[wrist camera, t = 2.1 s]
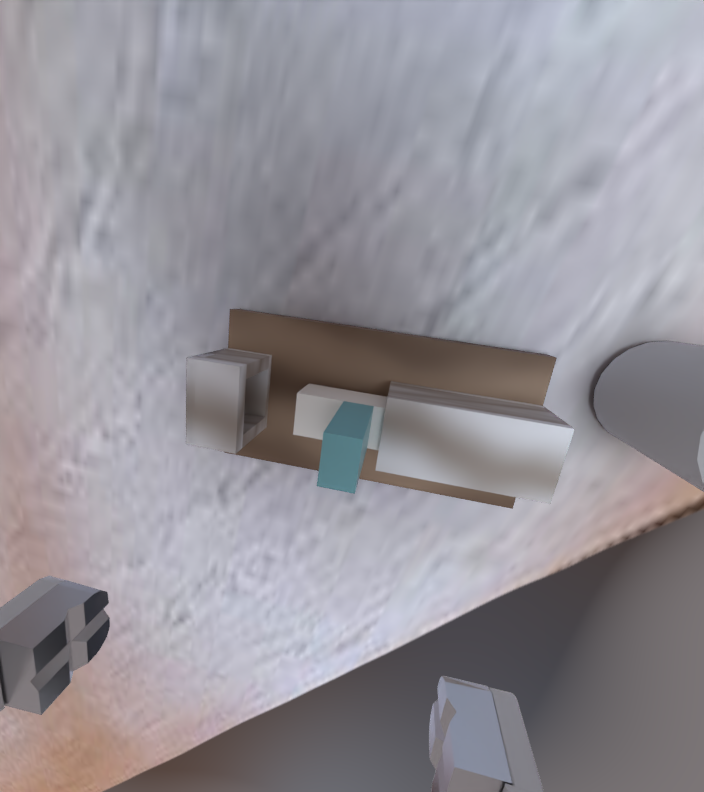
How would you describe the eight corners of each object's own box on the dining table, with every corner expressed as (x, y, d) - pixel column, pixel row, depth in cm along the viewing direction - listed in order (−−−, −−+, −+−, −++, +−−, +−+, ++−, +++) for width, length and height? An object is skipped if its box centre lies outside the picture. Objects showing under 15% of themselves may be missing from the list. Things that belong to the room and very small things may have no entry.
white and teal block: (308, 383, 26) (261, 421, 18) (529, 420, 25) (595, 482, 16) (304, 420, 27) (258, 474, 19) (518, 459, 25) (575, 537, 17)
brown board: (238, 309, 28) (187, 309, 22) (548, 354, 26) (598, 372, 19) (232, 445, 32) (185, 483, 25) (507, 498, 29) (537, 556, 22)
